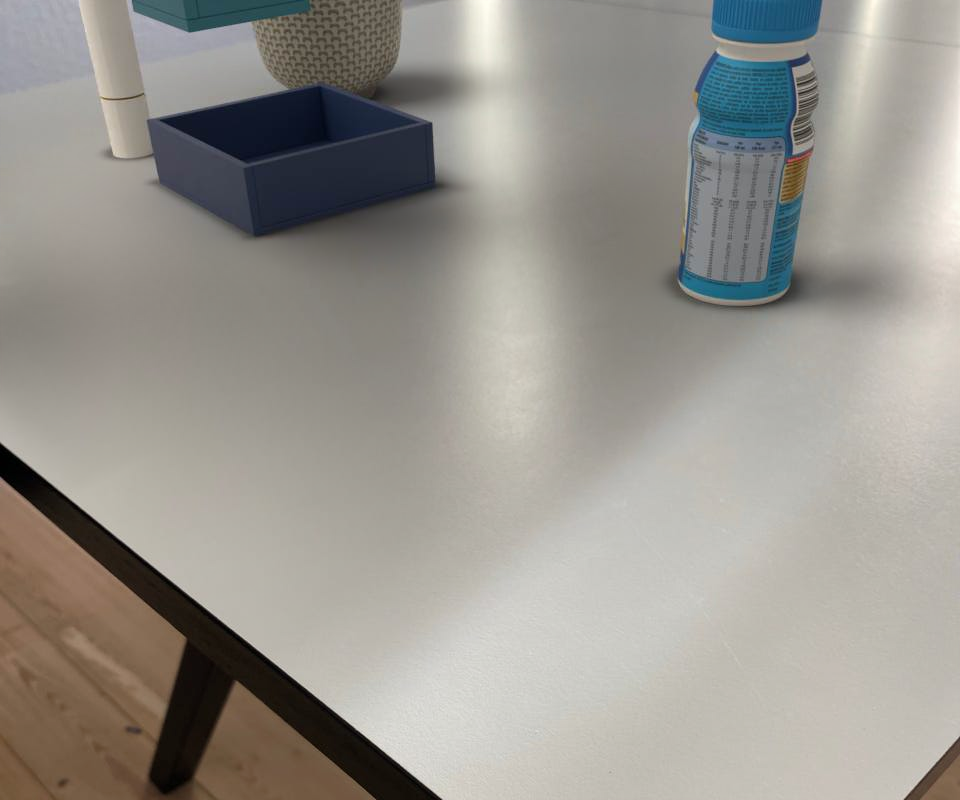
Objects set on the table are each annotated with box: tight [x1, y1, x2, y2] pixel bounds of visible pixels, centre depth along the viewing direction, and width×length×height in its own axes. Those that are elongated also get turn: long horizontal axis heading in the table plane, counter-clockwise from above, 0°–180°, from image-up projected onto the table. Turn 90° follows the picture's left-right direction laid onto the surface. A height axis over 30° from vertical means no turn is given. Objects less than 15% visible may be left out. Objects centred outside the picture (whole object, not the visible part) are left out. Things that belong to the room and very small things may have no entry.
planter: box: [250, 0, 404, 100], centre depth 121 cm, size 17×17×16 cm
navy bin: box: [147, 83, 437, 238], centre depth 101 cm, size 19×19×6 cm
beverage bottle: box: [677, 0, 823, 307], centre depth 76 cm, size 8×8×20 cm
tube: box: [77, 0, 154, 159], centre depth 108 cm, size 4×4×15 cm
